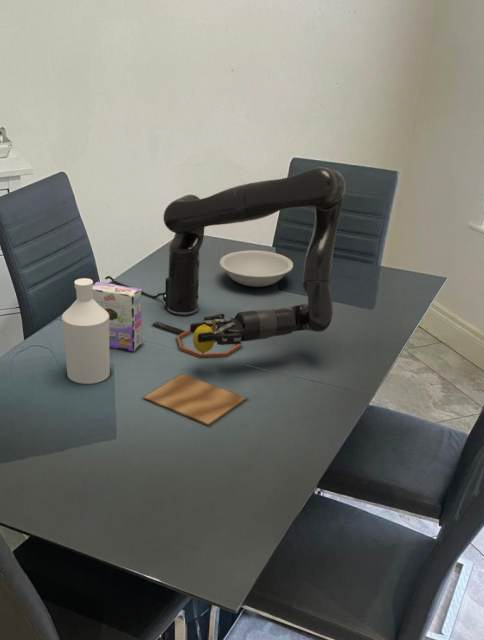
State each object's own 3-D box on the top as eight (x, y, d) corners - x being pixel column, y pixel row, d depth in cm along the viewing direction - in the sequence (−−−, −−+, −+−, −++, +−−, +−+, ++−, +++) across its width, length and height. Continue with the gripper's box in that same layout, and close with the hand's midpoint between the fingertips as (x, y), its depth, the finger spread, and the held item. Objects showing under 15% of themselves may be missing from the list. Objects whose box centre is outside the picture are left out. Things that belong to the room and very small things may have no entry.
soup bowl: (241, 264, 259) (242, 245, 255) (303, 279, 248) (305, 259, 244) (204, 285, 244) (205, 265, 240) (269, 302, 233) (271, 282, 229)
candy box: (142, 344, 210) (142, 288, 200) (133, 352, 206) (133, 295, 196) (99, 335, 215) (97, 280, 204) (90, 343, 211) (87, 287, 200)
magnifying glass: (136, 334, 215) (136, 331, 215) (172, 315, 226) (172, 312, 225) (215, 363, 201) (215, 359, 200) (250, 341, 211) (250, 338, 211)
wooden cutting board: (143, 399, 186) (143, 396, 186) (182, 375, 196) (182, 373, 195) (208, 425, 176) (208, 423, 176) (245, 399, 186) (245, 397, 185)
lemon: (212, 358, 191) (213, 329, 186) (191, 357, 192) (191, 328, 187) (214, 349, 195) (216, 320, 190) (194, 347, 196) (195, 319, 191)
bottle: (60, 367, 199) (53, 277, 183) (101, 359, 203) (97, 270, 187) (74, 387, 190) (68, 294, 175) (117, 379, 194) (115, 286, 178)
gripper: (246, 300, 195) (185, 308, 192) (268, 322, 185) (204, 331, 181) (244, 327, 200) (185, 335, 197) (265, 350, 189) (202, 359, 186)
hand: (194, 333), depth 189 cm, fingers closed on lemon, 5 cm apart
